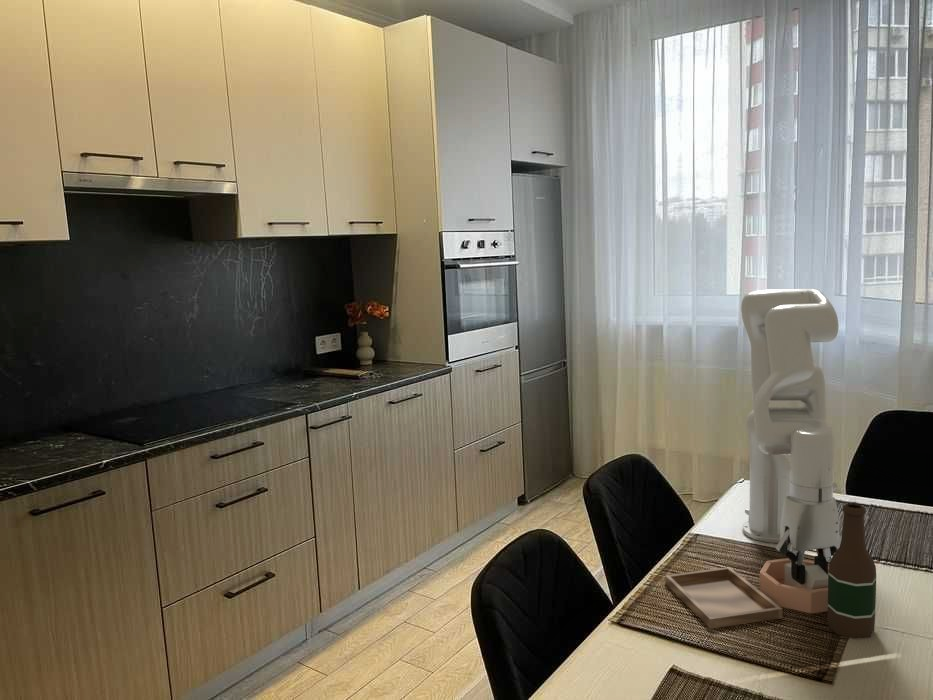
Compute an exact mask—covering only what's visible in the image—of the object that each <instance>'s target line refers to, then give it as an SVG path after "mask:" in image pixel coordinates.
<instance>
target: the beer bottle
mask: <svg viewBox="0 0 933 700" xmlns="http://www.w3.org/2000/svg"><path fill="white" fill-rule="evenodd" d="M842 512H843V519H842V531H841V537H842V539H841V543H840V547H839V548H838V549H837V550H836V552H835V553H834V554H833V555H832V556H831V558H832V559H831V561H830V562H828V566H829V572H828V611H826V612H827V613H826V615H827V617H826V618H827V626H828V628H830V629H831V630H832V631H833V632H834V633H835V634H837V635H840V636H843V637H847V638H850V639H853V640H856V639H857V640H859V639H868V638H871V637H872V636H873V633H874V632H875V625H876V605H877V604H876V603H877V601H876V599H877V567H876V564H875V561H874V559H873V557H872V556H871V554H870V552H868V549H867V546H866V533H865V514H866V513H867V511H866V507H865V506H863V505H862V504H858V503H845V504H844V505H843V507H842Z"/></svg>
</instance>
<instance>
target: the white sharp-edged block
mask: <svg viewBox="0 0 933 700" xmlns="http://www.w3.org/2000/svg"><path fill="white" fill-rule="evenodd" d="M797 587H798V588H803V589H808V590H813V589H820V588H827V587H828V575H827V574H826V573H825V572H824V570H823V569H822V568H821V567H820V566H819V565H811V566H805V583H804V584H802V585H801V584H799V583H797Z"/></svg>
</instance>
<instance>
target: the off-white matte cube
mask: <svg viewBox="0 0 933 700" xmlns="http://www.w3.org/2000/svg"><path fill="white" fill-rule="evenodd" d="M802 564H803V563H802ZM803 565H804V566H806V565H805V564H803ZM797 583H798V582H797V581H795V580H794V579H793V578H792V575H791V563H787V564H785V577H784V585H789V586H794V587H797Z"/></svg>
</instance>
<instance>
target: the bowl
mask: <svg viewBox="0 0 933 700" xmlns="http://www.w3.org/2000/svg"><path fill="white" fill-rule="evenodd" d="M787 563H791V560H789V558H788V557H786V558H779V559H778V558H777V559H772V560H766V561H765V563H764V564H763V566H762V568H761V569H760V571H759V591H761V592H762V593H763V594H764V595H766V596H767V597H768V598H769V599H771V600H772V601H773V602H774V603H776V604H777V605H778V606H780V607H781V608H785V609H790V610H794V611H797V612H798V611H799V612H804V613H807V614H816V613H817V614H818V613H824V612H827V611H828V587H827V588H820V589H813V590H808V589H803V588H798V587H794V586H789V585H784V577H785V564H787ZM803 564H805V565H806V566H811V565H814V560H808V559H803ZM828 572H829V565H828ZM827 575H828V574H827Z"/></svg>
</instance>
